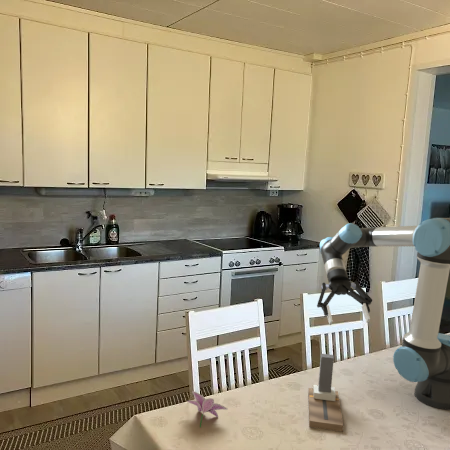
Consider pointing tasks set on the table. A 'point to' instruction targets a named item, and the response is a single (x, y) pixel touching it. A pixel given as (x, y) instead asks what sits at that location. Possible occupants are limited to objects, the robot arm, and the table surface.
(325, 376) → the slider
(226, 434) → the table surface
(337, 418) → the board
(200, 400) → the lily
